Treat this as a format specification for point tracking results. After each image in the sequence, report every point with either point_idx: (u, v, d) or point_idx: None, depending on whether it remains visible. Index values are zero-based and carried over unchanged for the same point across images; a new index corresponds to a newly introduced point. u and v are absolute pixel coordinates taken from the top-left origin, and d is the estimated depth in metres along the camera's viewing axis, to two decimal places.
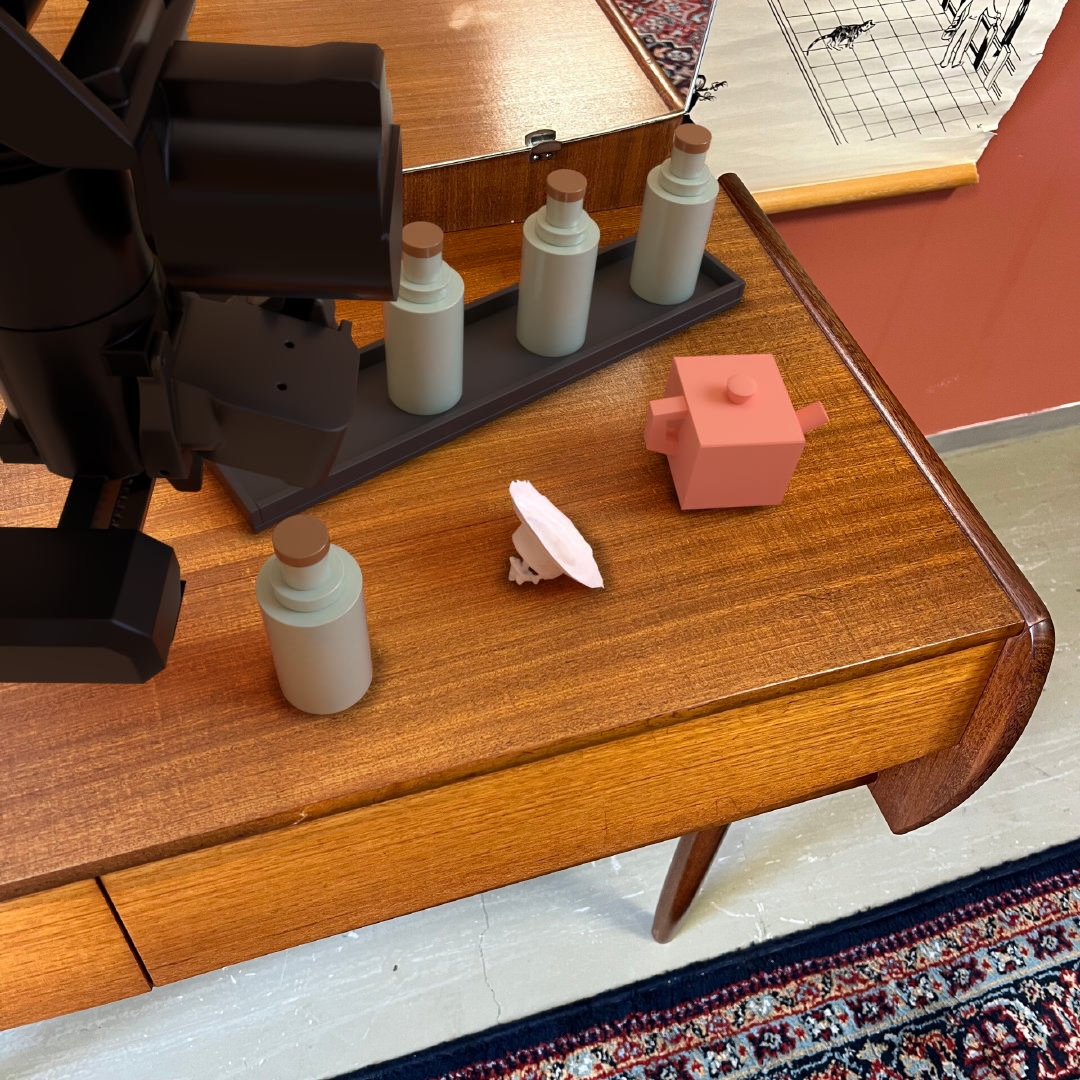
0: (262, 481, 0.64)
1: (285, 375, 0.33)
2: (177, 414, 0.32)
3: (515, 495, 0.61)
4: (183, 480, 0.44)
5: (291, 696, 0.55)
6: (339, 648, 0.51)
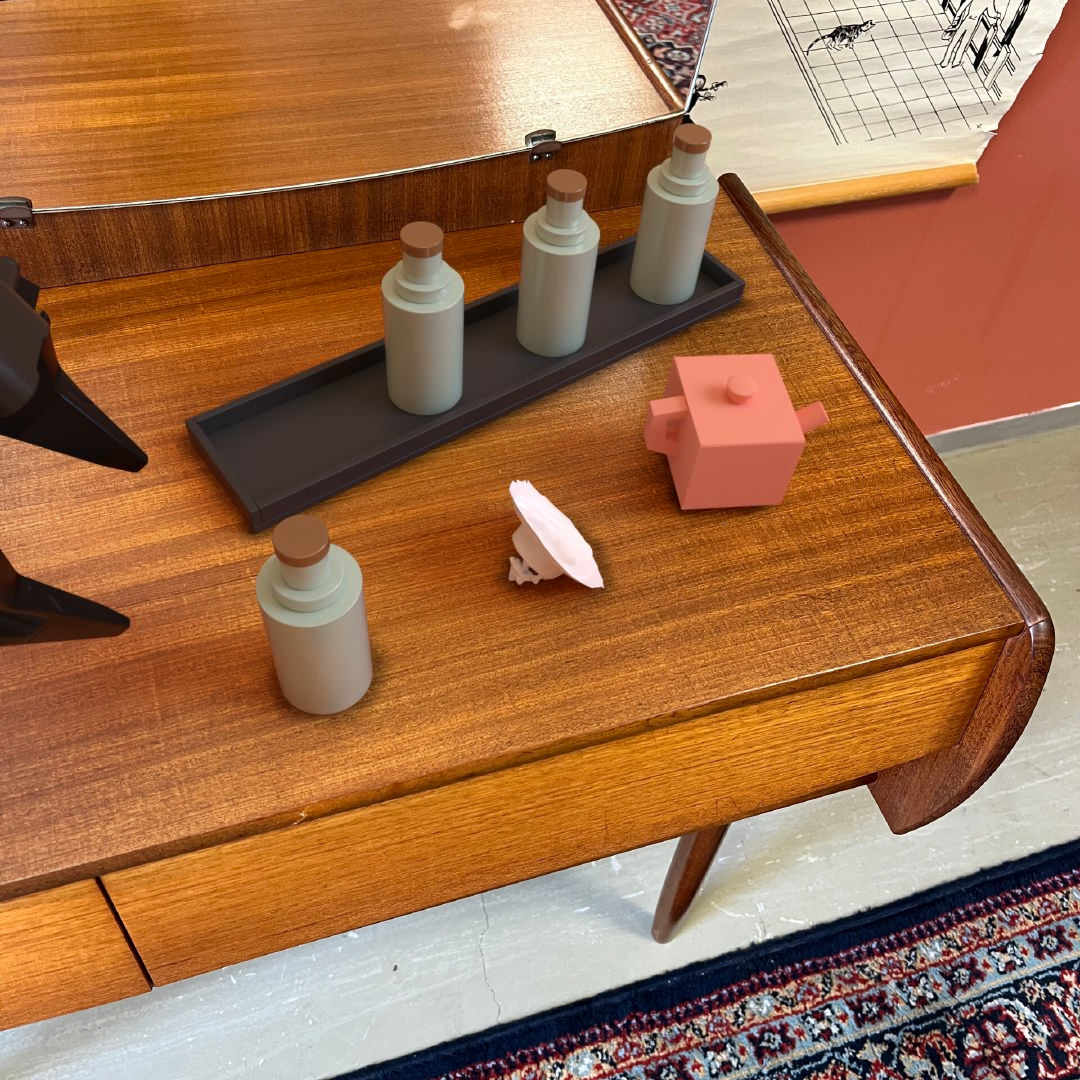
0: (262, 481, 0.64)
1: None
2: None
3: (515, 495, 0.61)
4: (126, 461, 0.48)
5: (291, 696, 0.55)
6: (339, 648, 0.51)
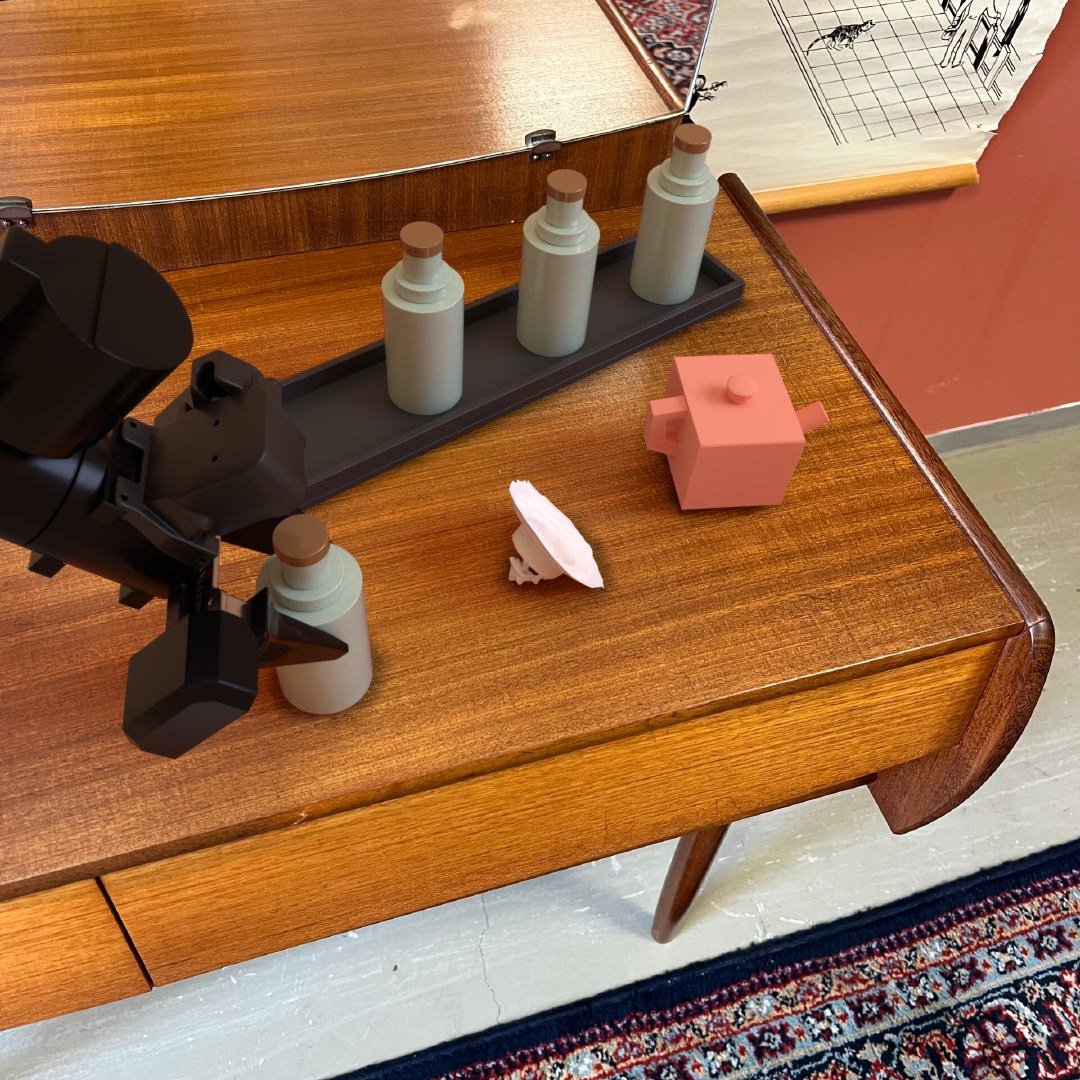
0: None
1: (215, 448, 0.41)
2: (167, 522, 0.41)
3: (515, 495, 0.61)
4: None
5: (291, 695, 0.55)
6: None
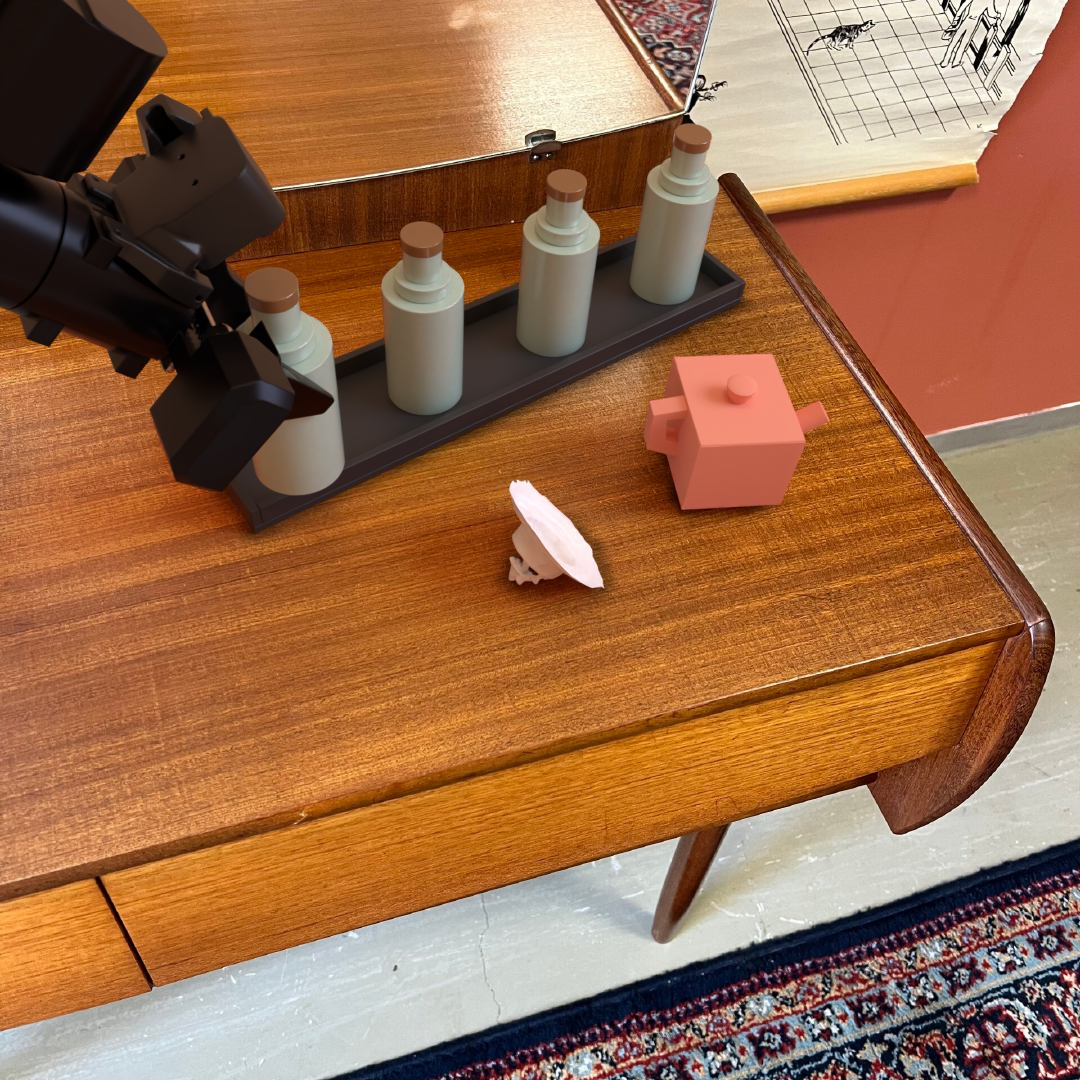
0: None
1: (192, 174, 0.42)
2: (162, 256, 0.42)
3: (515, 495, 0.61)
4: None
5: (277, 479, 0.56)
6: None
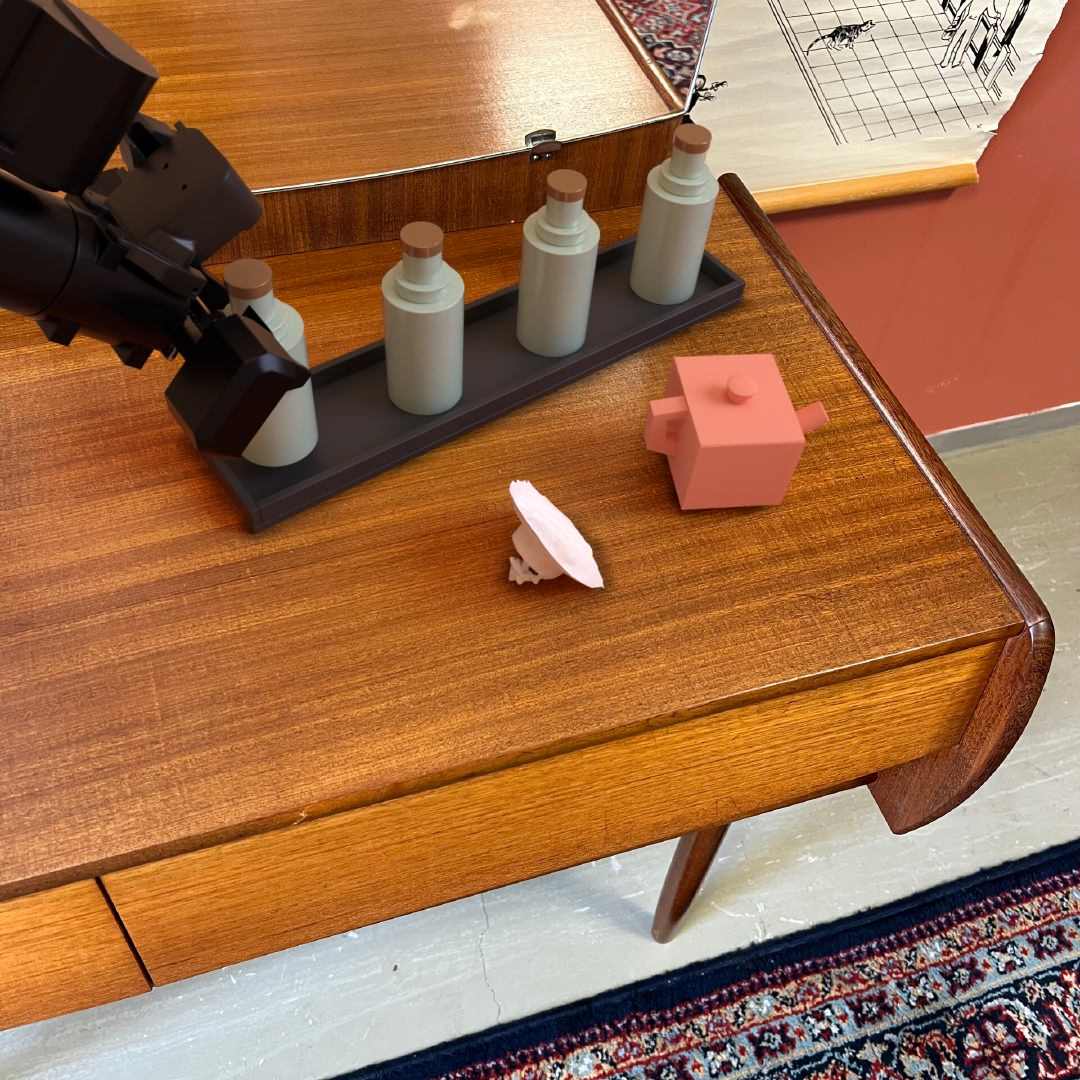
0: (262, 481, 0.64)
1: (179, 180, 0.48)
2: (162, 255, 0.48)
3: (515, 495, 0.61)
4: None
5: (262, 453, 0.62)
6: None
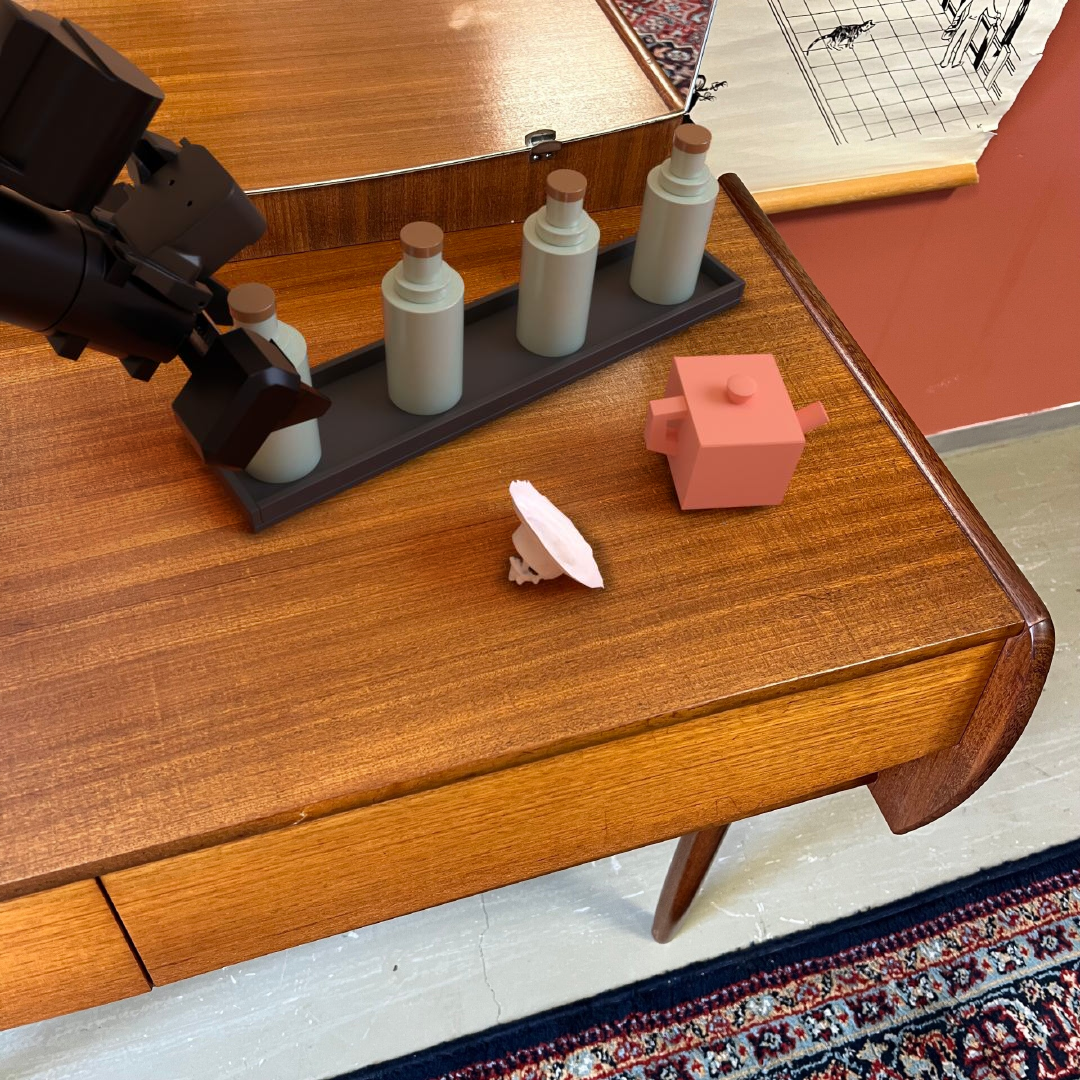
0: (262, 481, 0.64)
1: (185, 197, 0.49)
2: (168, 270, 0.49)
3: (515, 495, 0.61)
4: None
5: (267, 470, 0.64)
6: None
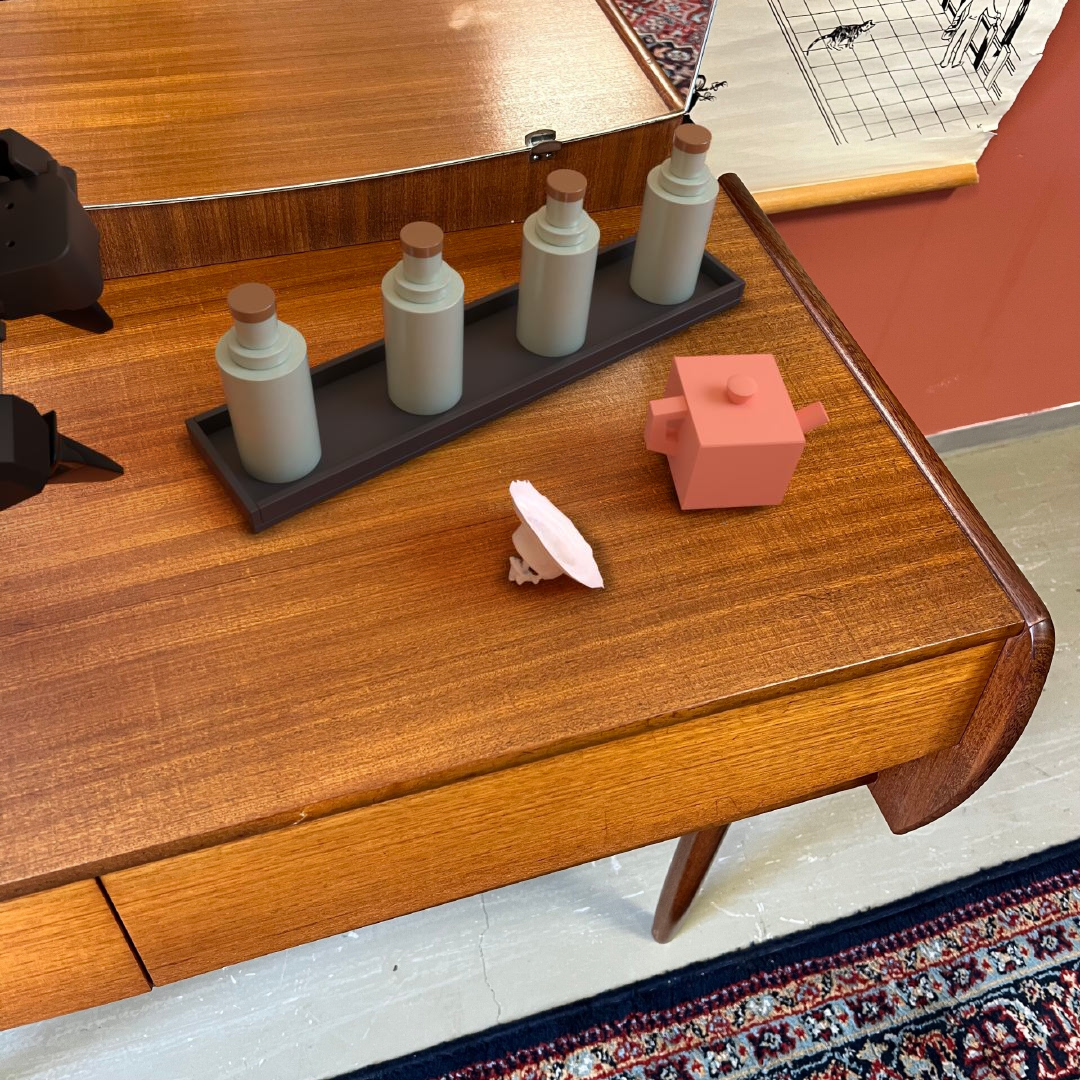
0: (262, 481, 0.64)
1: (11, 233, 0.41)
2: None
3: (515, 495, 0.61)
4: (95, 325, 0.55)
5: (267, 470, 0.64)
6: (303, 398, 0.60)
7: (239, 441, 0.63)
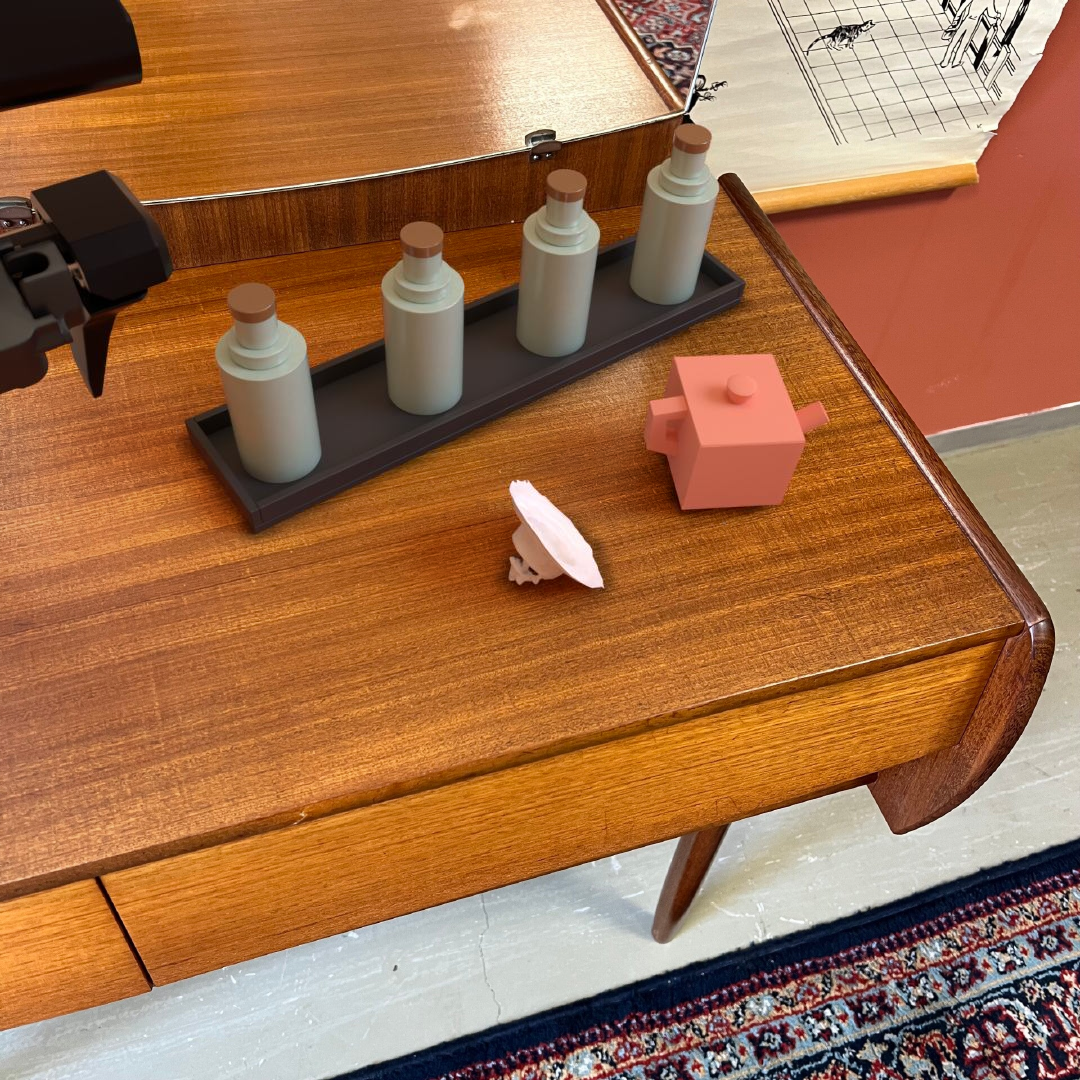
0: (262, 481, 0.64)
1: None
2: None
3: (515, 495, 0.61)
4: (86, 381, 0.51)
5: (267, 470, 0.64)
6: (303, 398, 0.60)
7: (239, 441, 0.63)
